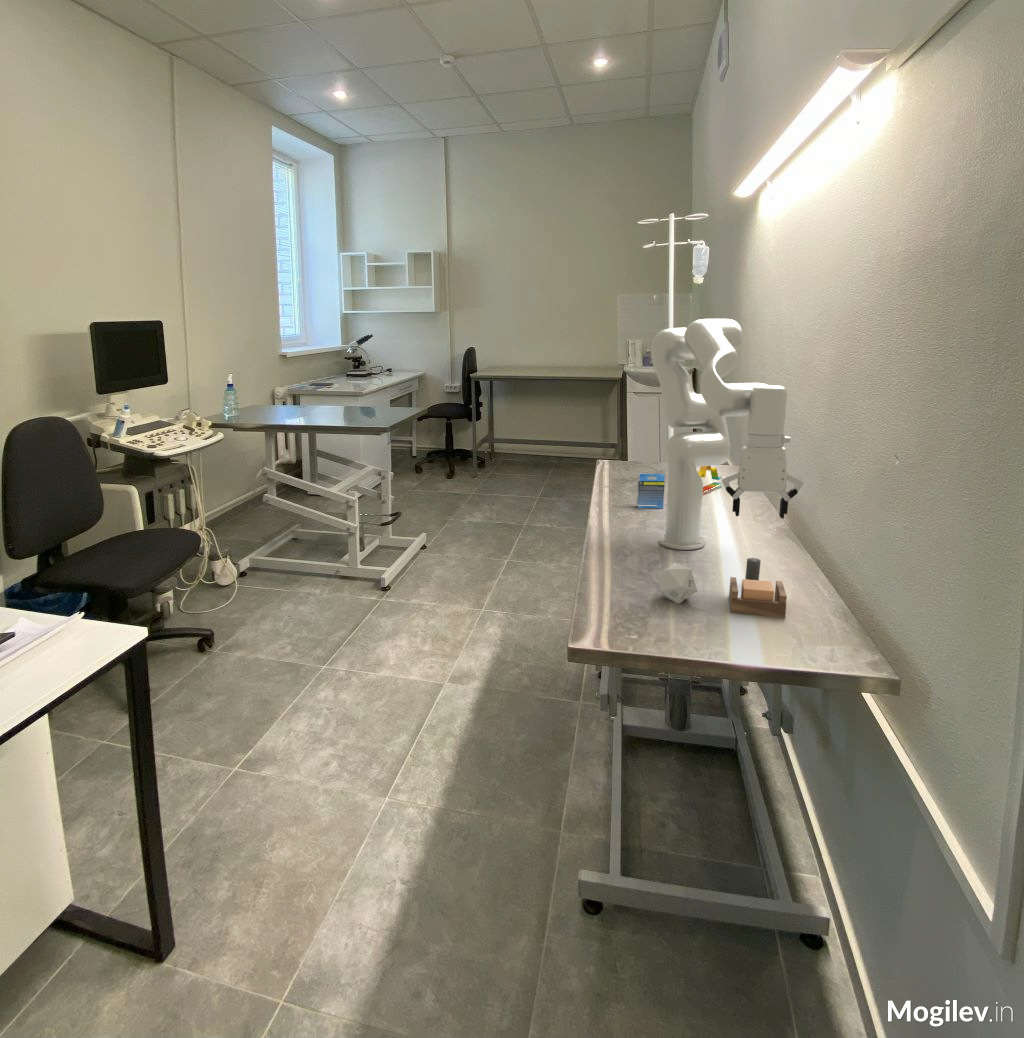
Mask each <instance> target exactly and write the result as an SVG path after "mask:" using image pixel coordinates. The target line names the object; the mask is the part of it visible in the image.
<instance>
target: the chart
mask: <svg viewBox="0 0 1024 1038" xmlns="http://www.w3.org/2000/svg"><path fill="white" fill-rule="evenodd" d="M707 471H710V475H711V480H714V481H715V480H716V481H717V482H712V483H710V484H706V485H705V486H704V485H703V494H702V496H704V495H707V494H709V493H711V492H713V491H716V490H718V489H721V488H722V487H723V485H720V486H718V487H715V486H717V485H719V484H723V483H722V482H718V481H719V480H722V476H719V474H718V468H717V467H714V466H713V467H712V466H701V467H700V468H699V470H698V471H697V472H698V474H699V475H700V477H701V478H706V475H707ZM713 487H715V488H713ZM711 488H713V489H711ZM709 489H710V490H709ZM706 490H708V491H706ZM704 491H706V492H704Z"/></svg>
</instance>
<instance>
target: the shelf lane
mask: <svg viewBox="0 0 1024 1038" xmlns="http://www.w3.org/2000/svg"><path fill="white" fill-rule="evenodd" d="M737 580H738V579H737V577H735V576H730V579H729V589H728V590H729V592H728V598H729V607H730V608H729V610H730V613H732V614H743V615H751V616H752V615H755V616H764V617H765V616H766V617H773V618H774V617H776V618H786V610H787V598H788V597H787V593H786V590H785V587H784V583H783V581H782V580H775V587H774V588H775V589H774V598H773V601H768V600H757V599H745V598H741V597H739V589H738V581H737Z"/></svg>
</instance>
